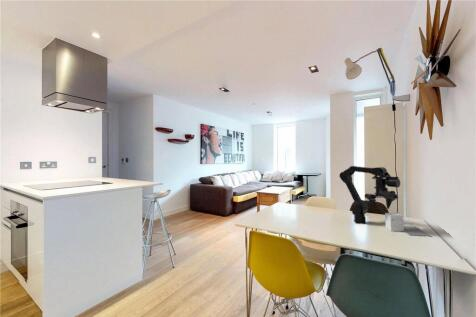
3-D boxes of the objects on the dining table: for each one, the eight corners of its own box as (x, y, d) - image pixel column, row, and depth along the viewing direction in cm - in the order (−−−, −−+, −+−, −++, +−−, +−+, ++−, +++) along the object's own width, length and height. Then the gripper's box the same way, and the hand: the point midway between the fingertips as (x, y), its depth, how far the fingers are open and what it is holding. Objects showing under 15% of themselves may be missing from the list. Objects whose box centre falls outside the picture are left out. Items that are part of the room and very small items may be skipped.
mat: (410, 235, 123) (410, 234, 123) (396, 226, 141) (396, 225, 141) (432, 236, 120) (432, 236, 120) (415, 227, 138) (415, 226, 138)
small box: (398, 228, 136) (397, 212, 136) (404, 231, 130) (403, 214, 130) (385, 228, 137) (384, 212, 137) (390, 231, 131) (390, 214, 131)
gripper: (374, 187, 130) (375, 212, 130) (404, 187, 130) (404, 211, 130) (364, 185, 141) (364, 208, 141) (391, 185, 141) (391, 207, 141)
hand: (381, 208), depth 138 cm, fingers open, 9 cm apart
